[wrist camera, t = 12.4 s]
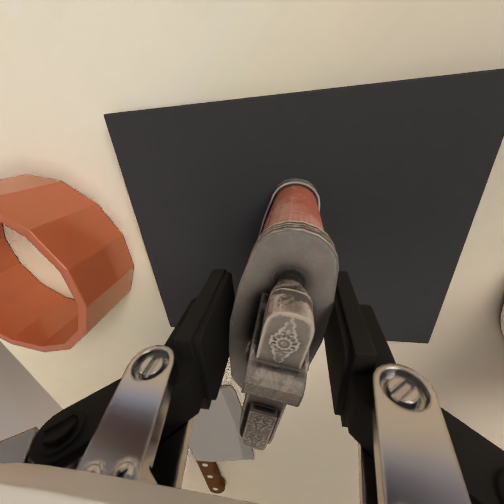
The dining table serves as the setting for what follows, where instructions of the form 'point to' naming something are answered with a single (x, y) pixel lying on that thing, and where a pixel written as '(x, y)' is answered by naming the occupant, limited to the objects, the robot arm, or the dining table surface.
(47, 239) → the orange hollow ring
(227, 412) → the kitchen cleaver
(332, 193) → the mat
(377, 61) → the dining table surface
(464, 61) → the dining table surface
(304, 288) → the lighter
